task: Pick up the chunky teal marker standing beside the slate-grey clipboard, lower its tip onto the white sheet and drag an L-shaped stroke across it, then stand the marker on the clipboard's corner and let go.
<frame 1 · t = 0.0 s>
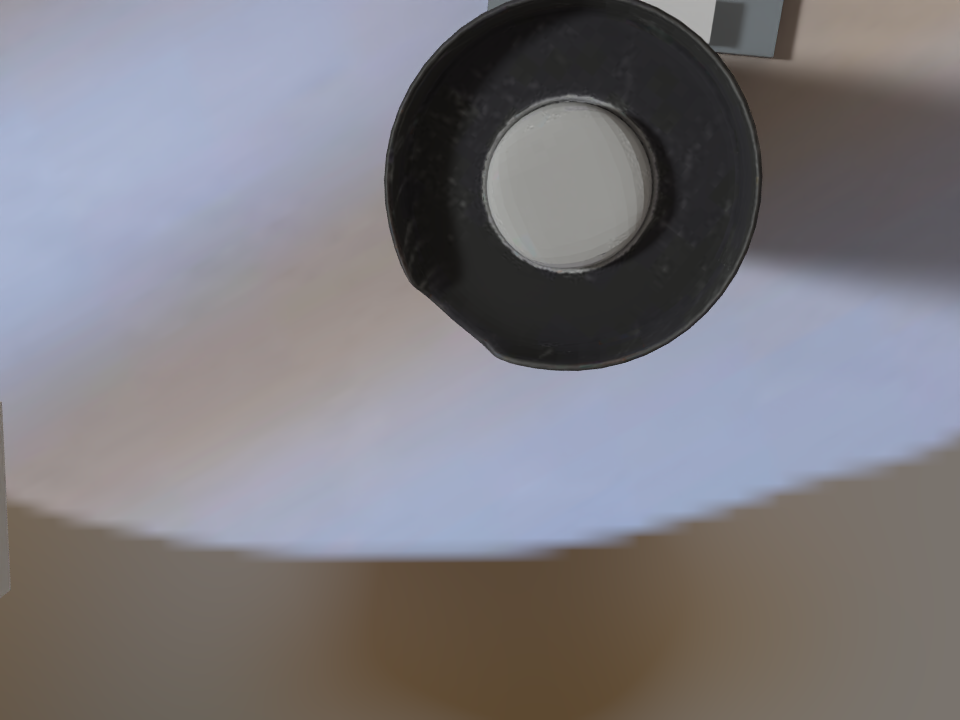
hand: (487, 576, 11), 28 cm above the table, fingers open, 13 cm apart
travel mug: (594, 142, 37), on the table
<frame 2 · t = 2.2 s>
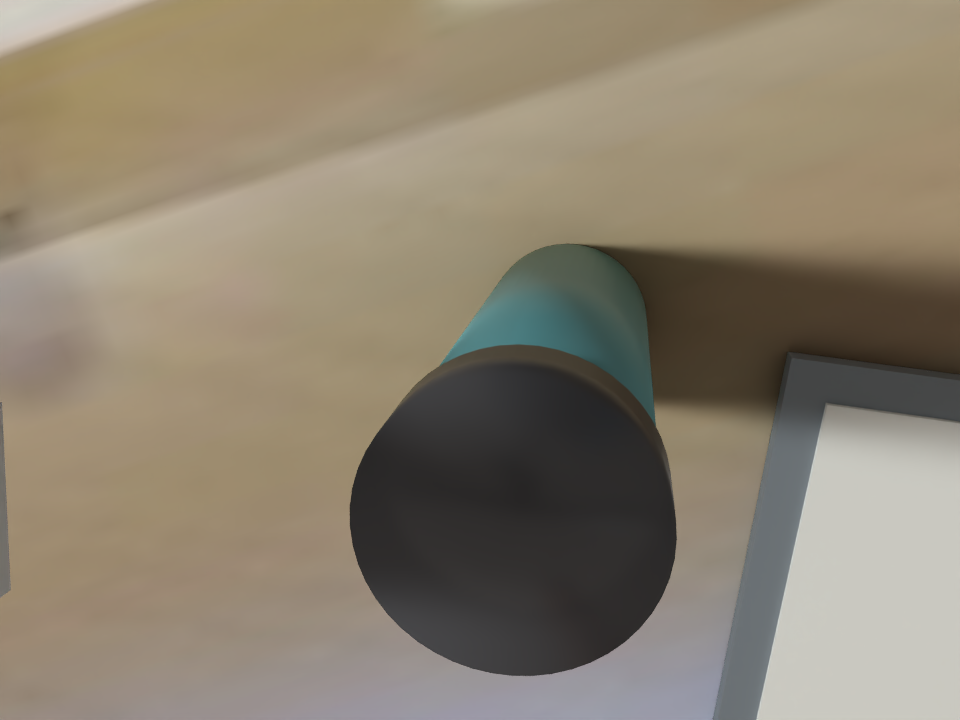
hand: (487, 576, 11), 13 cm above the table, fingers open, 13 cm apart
clipboard: (932, 699, 25), on the table
marker: (567, 321, 23), on the table
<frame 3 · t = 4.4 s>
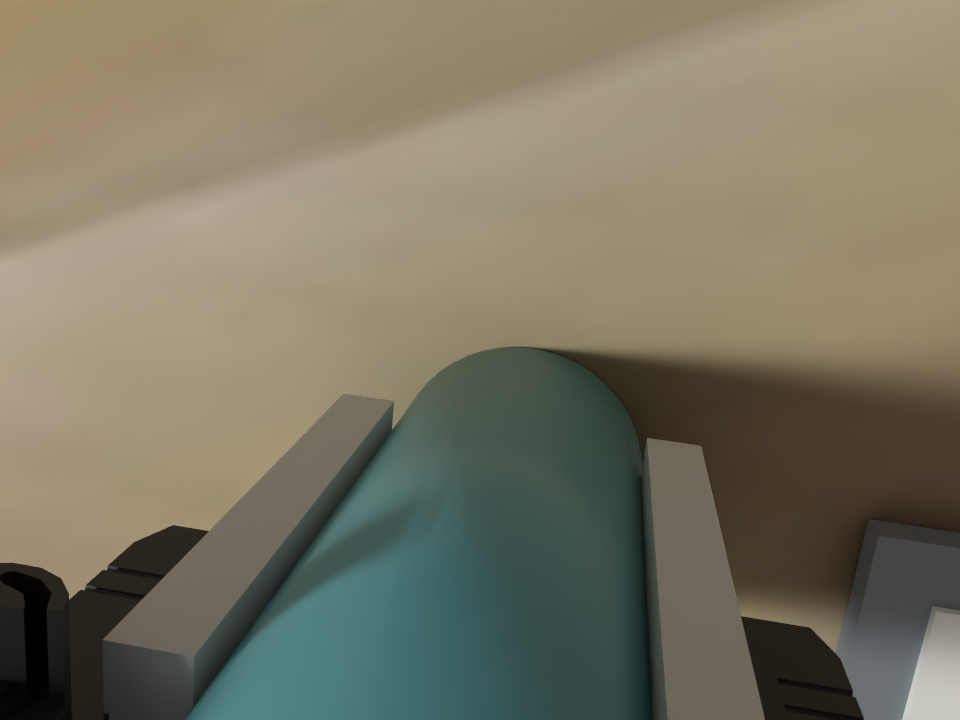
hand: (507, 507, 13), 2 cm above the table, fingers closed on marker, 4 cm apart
marker: (517, 466, 15), on the table, touching gripper
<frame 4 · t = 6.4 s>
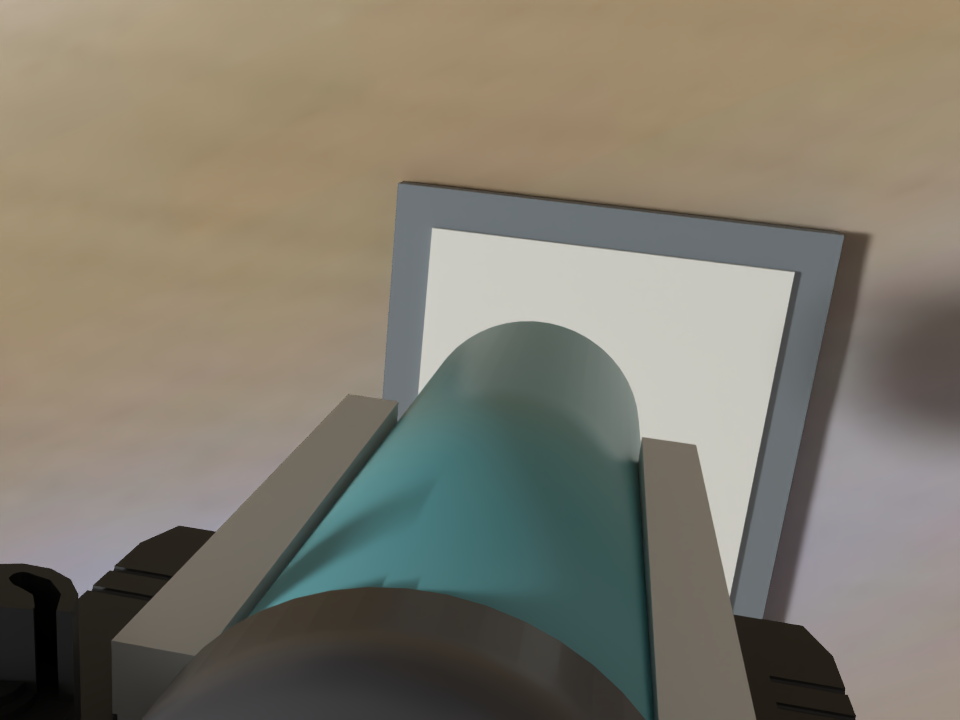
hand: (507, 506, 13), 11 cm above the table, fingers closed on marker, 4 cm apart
clipboard: (570, 526, 26), on the table
marker: (529, 427, 17), point 8 cm above the table, touching gripper
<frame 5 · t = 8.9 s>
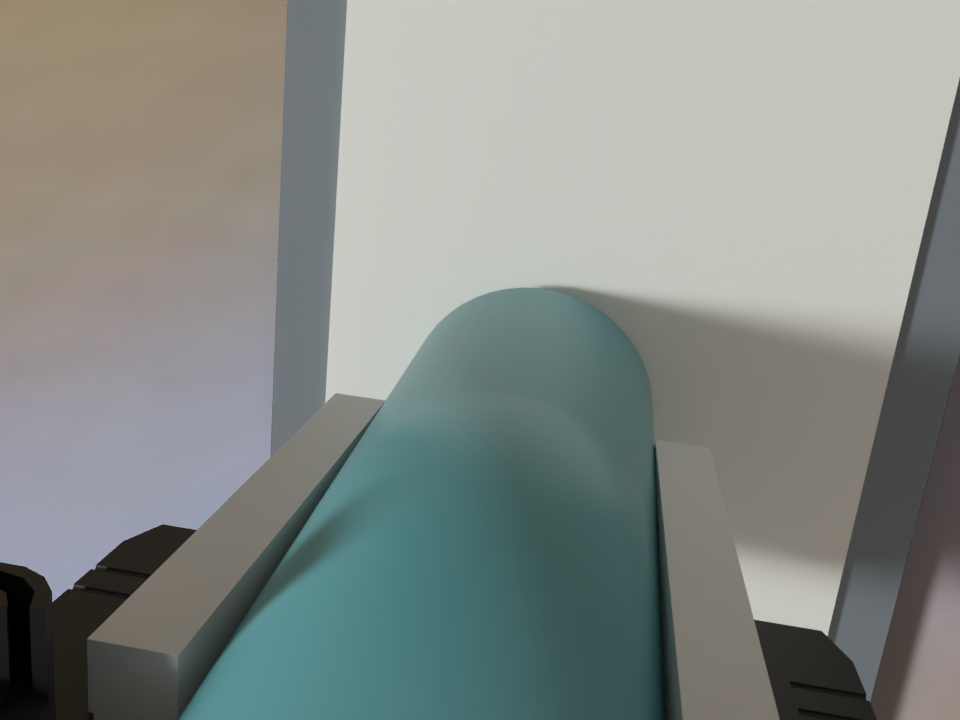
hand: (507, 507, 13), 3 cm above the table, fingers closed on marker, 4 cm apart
clipboard: (591, 391, 16), on the table
marker: (528, 405, 15), point 1 cm above the table, touching gripper
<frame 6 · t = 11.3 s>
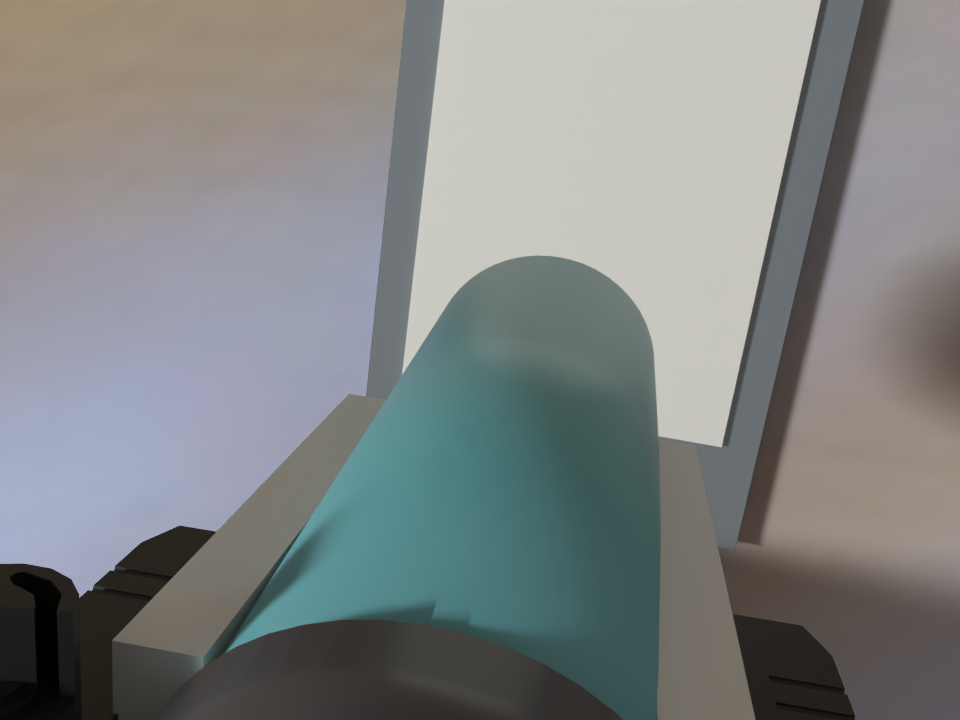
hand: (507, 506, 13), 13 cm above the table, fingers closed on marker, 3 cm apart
clipboard: (594, 199, 24), on the table
marker: (541, 363, 17), point 9 cm above the table, tilted 5°, touching gripper
when the fingers open (4 cm above the table, at t = 13.4 s): marker stays where it is, resting on clipboard.
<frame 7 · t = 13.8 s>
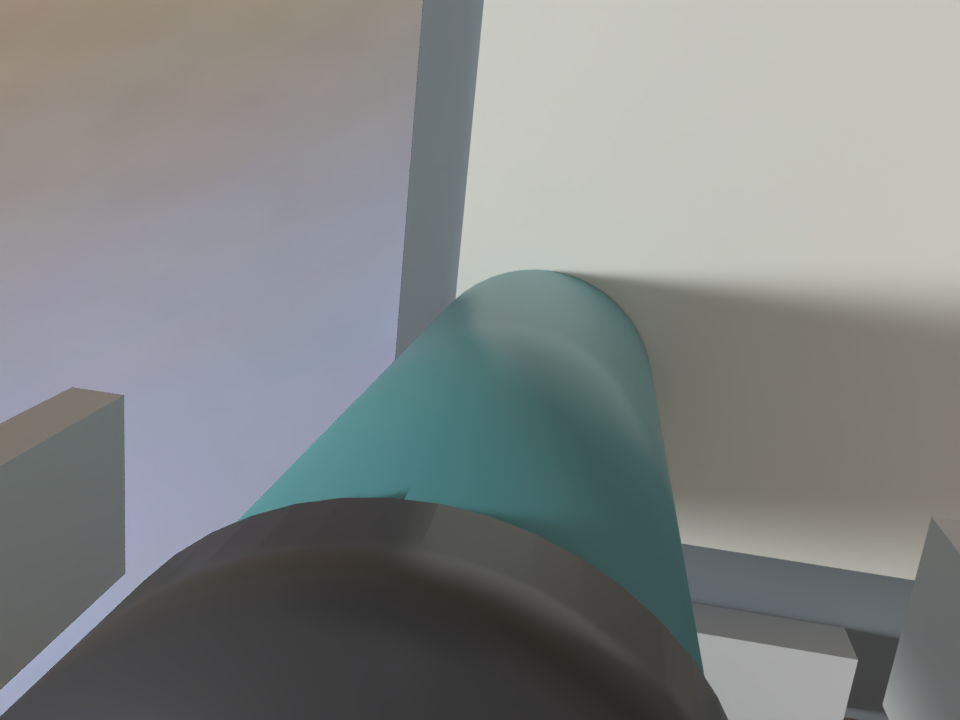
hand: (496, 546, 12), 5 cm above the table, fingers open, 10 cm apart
clipboard: (741, 198, 15), on the table
marker: (533, 385, 16), point 1 cm above the table, touching clipboard
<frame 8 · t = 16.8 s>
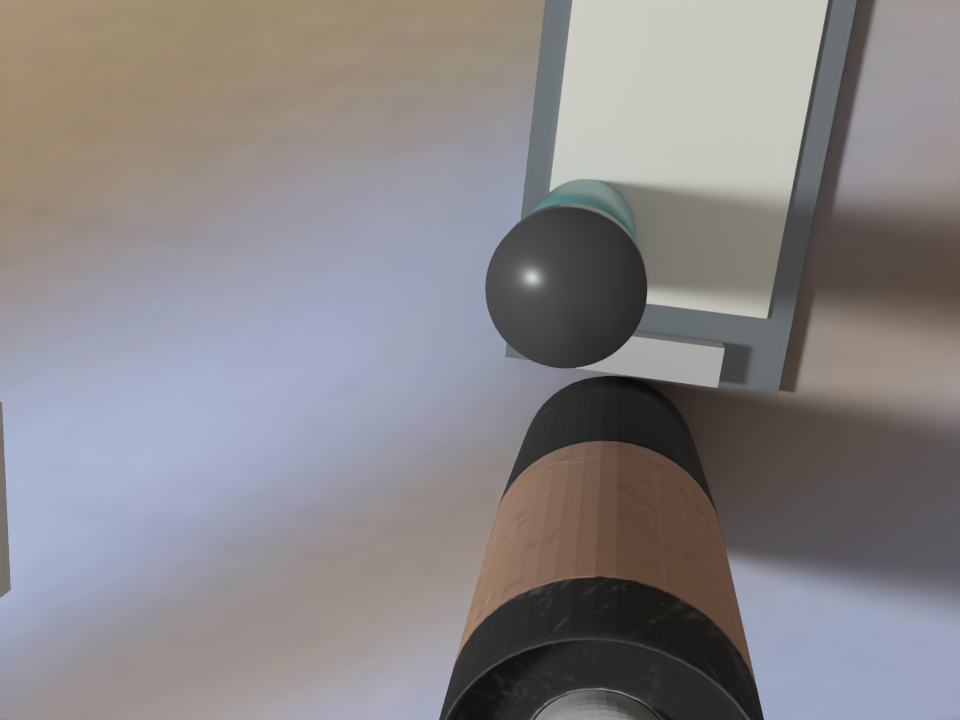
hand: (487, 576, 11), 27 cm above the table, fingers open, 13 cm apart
clipboard: (673, 148, 35), on the table
travel mug: (608, 453, 39), on the table
marker: (583, 231, 36), point 1 cm above the table, touching clipboard
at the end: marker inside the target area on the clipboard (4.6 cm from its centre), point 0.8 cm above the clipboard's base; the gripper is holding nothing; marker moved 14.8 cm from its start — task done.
